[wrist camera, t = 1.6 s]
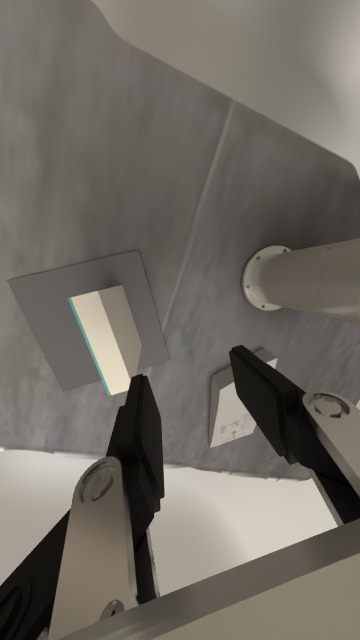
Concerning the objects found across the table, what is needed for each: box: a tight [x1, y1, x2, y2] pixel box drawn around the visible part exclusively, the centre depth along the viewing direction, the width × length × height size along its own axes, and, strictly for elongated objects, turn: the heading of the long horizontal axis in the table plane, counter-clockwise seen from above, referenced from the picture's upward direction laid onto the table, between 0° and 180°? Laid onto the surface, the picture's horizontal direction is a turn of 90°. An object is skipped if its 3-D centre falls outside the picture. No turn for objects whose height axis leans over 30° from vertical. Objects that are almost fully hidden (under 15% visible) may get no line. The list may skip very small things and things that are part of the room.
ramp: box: [208, 349, 277, 448], centre depth 39 cm, size 28×16×5 cm, turn 157°
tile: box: [68, 285, 142, 396], centre depth 26 cm, size 3×12×14 cm, turn 13°
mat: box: [7, 250, 170, 391], centre depth 32 cm, size 22×22×1 cm
